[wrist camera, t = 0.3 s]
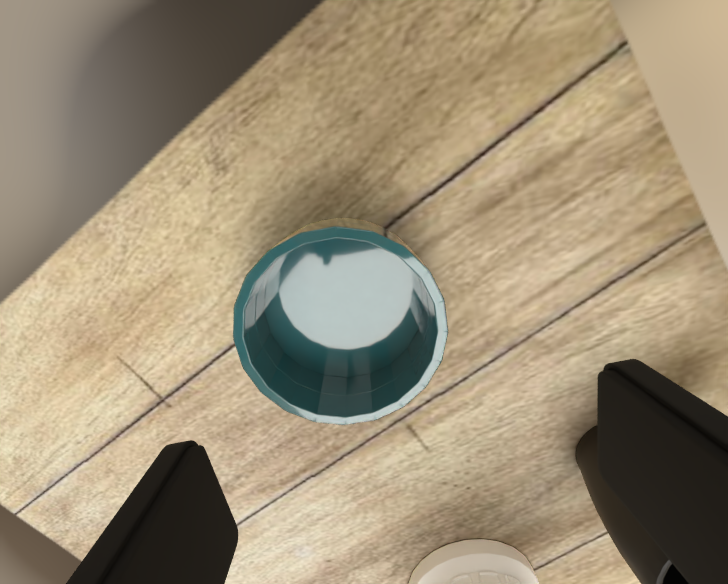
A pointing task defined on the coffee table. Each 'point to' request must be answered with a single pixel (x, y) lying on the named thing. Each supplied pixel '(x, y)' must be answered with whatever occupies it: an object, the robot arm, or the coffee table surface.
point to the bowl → (340, 322)
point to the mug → (624, 522)
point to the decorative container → (474, 565)
